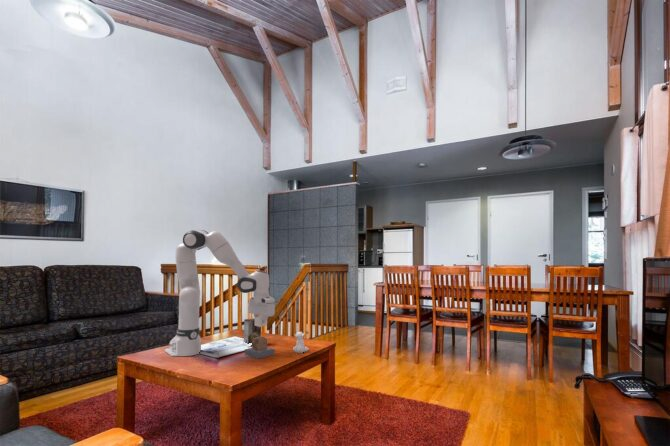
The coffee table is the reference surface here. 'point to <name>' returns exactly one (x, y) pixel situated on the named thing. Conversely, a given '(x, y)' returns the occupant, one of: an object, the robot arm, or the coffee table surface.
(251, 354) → the base
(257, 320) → the cream block
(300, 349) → the white creature statuette
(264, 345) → the walnut block
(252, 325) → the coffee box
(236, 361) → the coffee table surface
